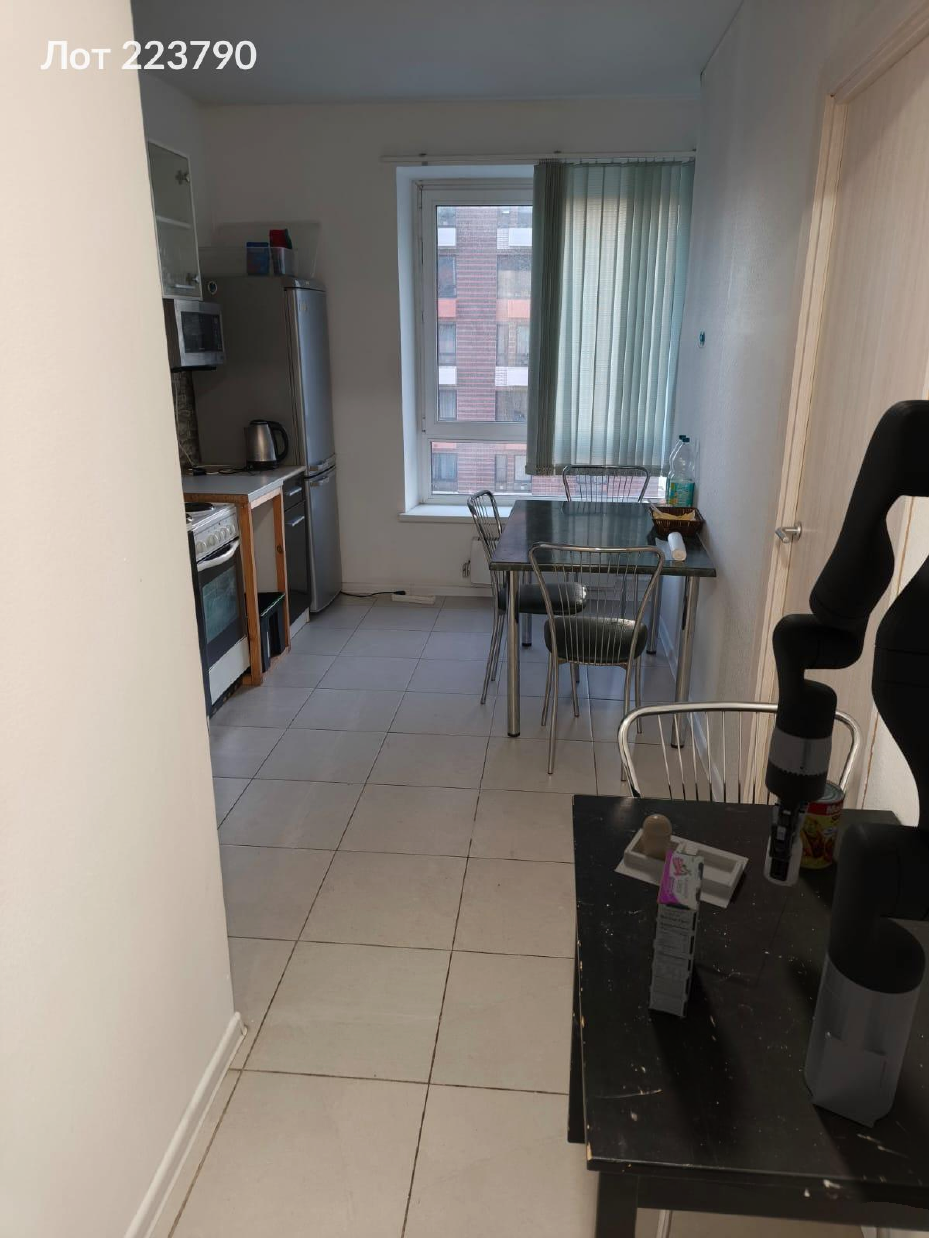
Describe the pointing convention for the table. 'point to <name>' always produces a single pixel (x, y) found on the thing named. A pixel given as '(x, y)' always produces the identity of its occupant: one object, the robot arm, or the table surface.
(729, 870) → the white holder tray
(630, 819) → the table surface
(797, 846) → the white capsule
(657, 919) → the candy bar box
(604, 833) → the table surface
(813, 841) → the canned food
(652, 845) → the tan capsule
